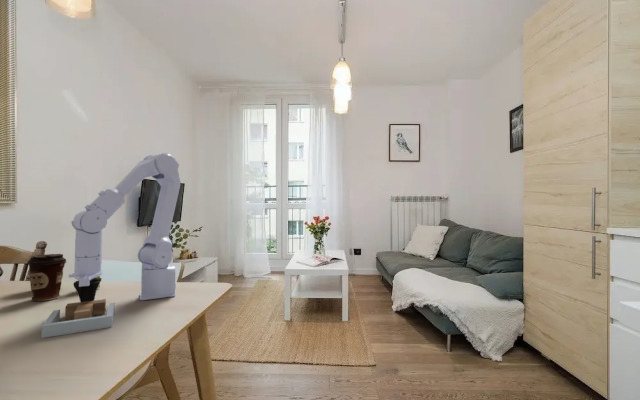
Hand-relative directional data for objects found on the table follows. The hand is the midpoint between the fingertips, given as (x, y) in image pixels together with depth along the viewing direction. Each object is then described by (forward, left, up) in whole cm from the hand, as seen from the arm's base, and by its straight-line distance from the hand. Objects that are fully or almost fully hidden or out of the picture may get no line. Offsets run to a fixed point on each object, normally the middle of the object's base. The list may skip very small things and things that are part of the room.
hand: (87, 307), depth 82 cm
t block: (0, +6, -1) cm, 6 cm away
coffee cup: (+12, -19, -1) cm, 23 cm away
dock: (0, +10, -1) cm, 10 cm away
